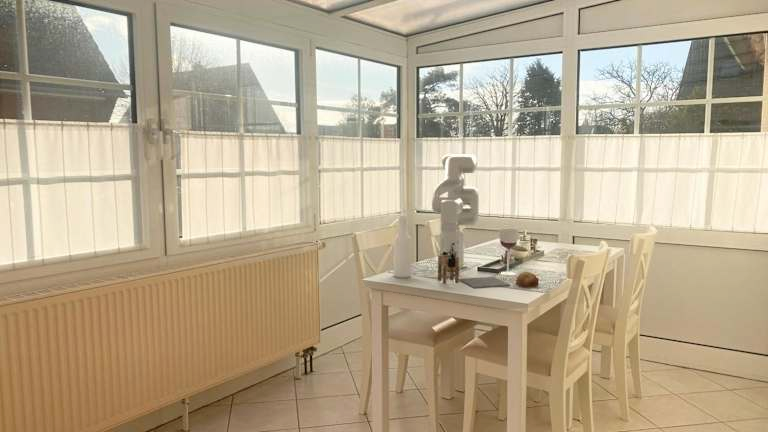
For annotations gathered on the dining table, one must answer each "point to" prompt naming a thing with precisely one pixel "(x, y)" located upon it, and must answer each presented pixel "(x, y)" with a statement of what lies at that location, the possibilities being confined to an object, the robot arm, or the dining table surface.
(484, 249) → the dining table surface
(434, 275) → the dining table surface
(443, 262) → the stool
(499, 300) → the dining table surface
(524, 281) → the bread roll
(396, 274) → the alcohol
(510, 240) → the wineglass
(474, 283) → the mat
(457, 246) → the juice carton
